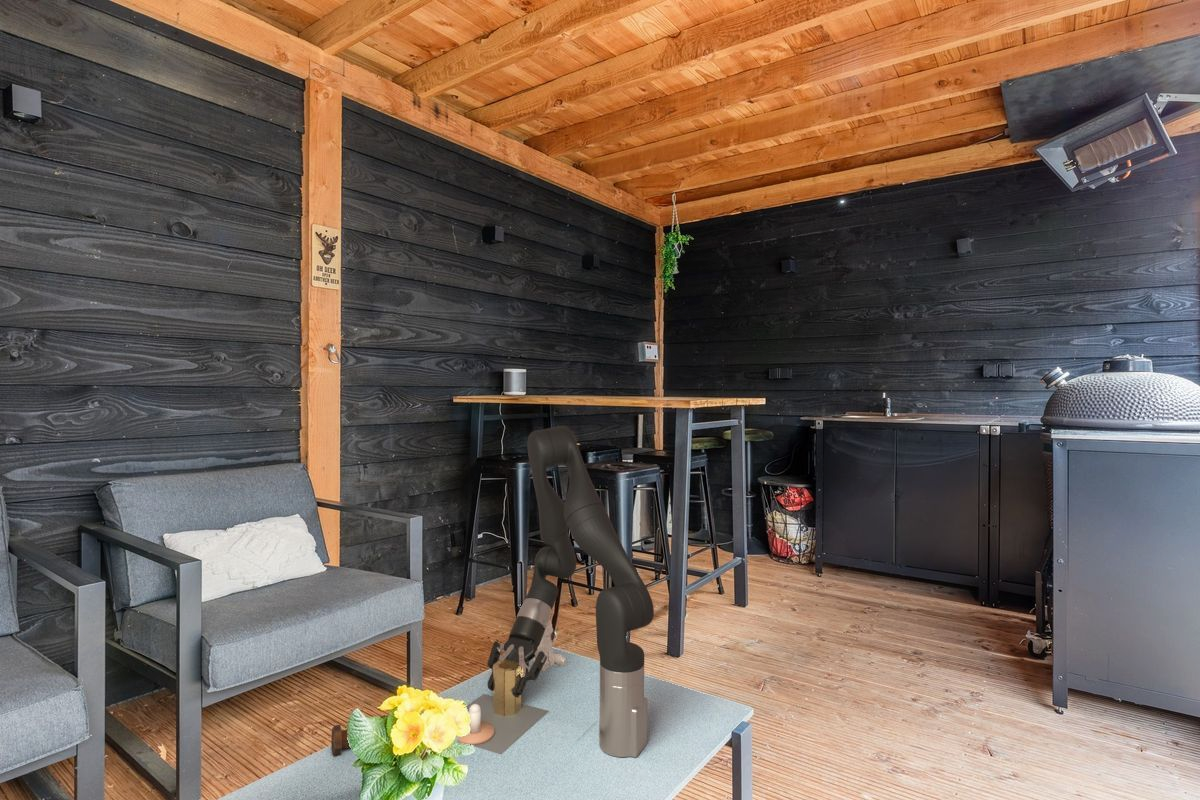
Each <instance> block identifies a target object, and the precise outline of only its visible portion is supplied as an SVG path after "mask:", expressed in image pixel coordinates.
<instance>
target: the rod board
mask: <svg viewBox="0 0 1200 800" xmlns="http://www.w3.org/2000/svg"><path fill="white" fill-rule="evenodd" d="M465 707H467V709H468V711H469V714H470V716H471V731H470V734H468V735H466V736H463V737H459V738H458V739H457V740H458V741H457V742H458V743H459V742H461V743H464V744H472V745H474V746H473V747H476V748H479V749H482V750H485V751H488V752H490V753H491V752H492V753H494V754H498V755H503V754H504V753H505V752H506V751H507V750H508V749H509V748H510V747H512V746H513V744H515V743H516V742H517V741H518V740H519V739H520V738H521V737H522V736H524V735H525V734H526V733H527V732H528V731H529V730H530V729H532V728H533V727H534V726H535V725H536V724H537V723H538V722H540V721H541V720H542V718H544V717H545V716H546V715H547V714H548V713H549V712H550V710H547V709H544V708H539V707H535V706H534V705H533V706H532V705H528V704H524V703H521V710H520V711H519V712H518V713H516V714H515V715H509V716H505V715H504V716H501V715H498V714H495V713H494V710H493V695H491V694H486V693H482V694H481V695H480V696H478V697H477V698H476V699H474V700H473V701H471V702H470V703H469V704H467V705H466V706H465ZM461 743H460V744H461ZM464 744H463V745H464Z"/></svg>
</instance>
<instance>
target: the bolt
mask: <svg viewBox="0 0 1200 800" xmlns="http://www.w3.org/2000/svg"><path fill="white" fill-rule="evenodd" d="M347 730H348V729H343V730H342V727H341V724H336V725H333V727H332V728H331V741H330V744H331V755H332V756H333V757H334V758H335V757H339V756H342V750H344V749H349V748H350V747H349V743H348V740H347V735H348V734H347Z"/></svg>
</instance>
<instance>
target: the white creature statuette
mask: <svg viewBox="0 0 1200 800" xmlns="http://www.w3.org/2000/svg"><path fill="white" fill-rule="evenodd" d="M553 632H554V628H553V623H552V620H549V622H548V625H547V627H546V629H545V632H544V634H543V637H542V640H541V642H540V645H539V646H538V648H537V651H539V652H540V651H543V652H544V653H545V655H546V656H547V660H546V662H545V664H544V665H543V667H542V669H541V671H540V672H543V673H544V672H545V671H546V670H548V669H549V668H553V667H554V668H555V667H556V666H562V667H565V666H567V661H568V660H567V658H566V657H564V656H563V655H562V654H560V653H555V652H554V651H553V649H554V648H553V646H554V645H553V641H552V637H551V636H552V634H553ZM531 661H532V664H533V663H534V661H535V657H534V658H533V659H532V660H531Z"/></svg>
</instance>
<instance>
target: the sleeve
mask: <svg viewBox="0 0 1200 800" xmlns="http://www.w3.org/2000/svg"><path fill="white" fill-rule="evenodd" d="M520 672H521V665H519V662H515V661H511V660H508V659H506V660H504V661H501V660H500V661H499V660H498V662H496V663H495V664H493V691H492V696H493V710H494V713H495V714H498V715H501V716H504V715H505V716H509V715H515V714H516V713H518V712H519V711H520V710H521V704H522V694H521V695H519V697H518V698H517V697H515V696H514V695H513V694H512V693H513V690H514V687H515V685H516V683H517V680H518V678H519V677H520Z"/></svg>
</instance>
